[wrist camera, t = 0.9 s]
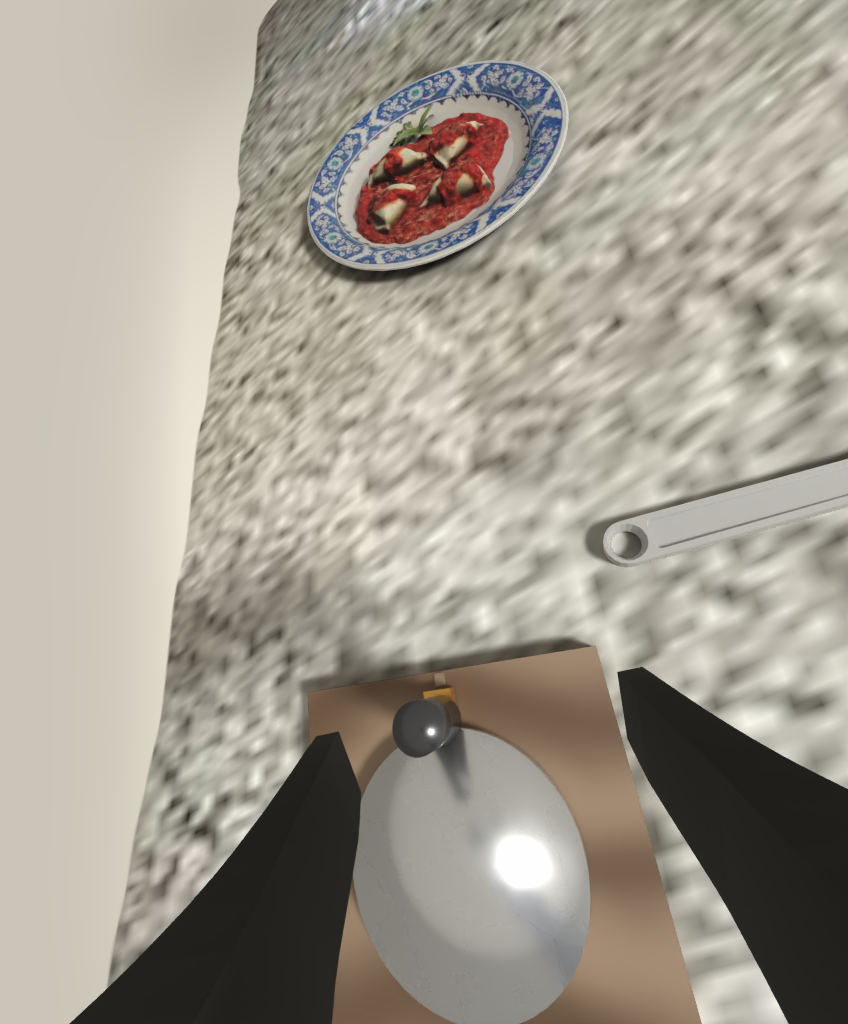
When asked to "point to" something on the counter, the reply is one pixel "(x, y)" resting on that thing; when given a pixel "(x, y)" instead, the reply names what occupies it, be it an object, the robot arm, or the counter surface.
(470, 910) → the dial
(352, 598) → the counter surface
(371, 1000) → the dial board
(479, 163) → the ceramic plate
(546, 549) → the counter surface
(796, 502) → the adjustable wrench
